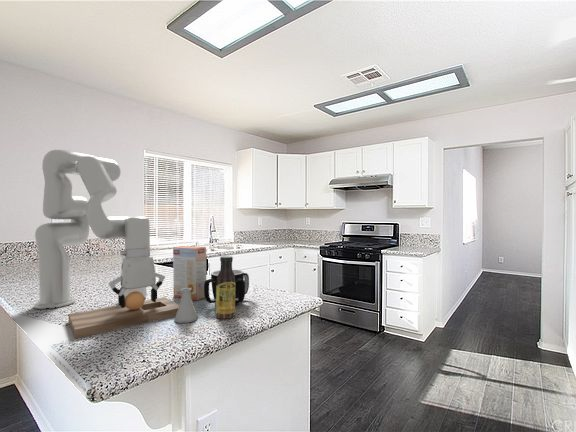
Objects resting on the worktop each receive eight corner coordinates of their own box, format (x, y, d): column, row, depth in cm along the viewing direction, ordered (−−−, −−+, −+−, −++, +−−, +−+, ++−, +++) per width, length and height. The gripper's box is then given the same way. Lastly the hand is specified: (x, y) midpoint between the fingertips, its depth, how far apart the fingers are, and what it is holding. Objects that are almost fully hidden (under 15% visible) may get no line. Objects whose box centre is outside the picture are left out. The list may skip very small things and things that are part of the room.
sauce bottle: (218, 321, 96) (217, 258, 96) (213, 315, 102) (212, 256, 102) (238, 317, 99) (237, 257, 99) (232, 312, 105) (231, 254, 105)
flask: (190, 324, 94) (190, 292, 94) (169, 323, 95) (169, 291, 95) (202, 316, 101) (201, 286, 101) (182, 315, 102) (181, 286, 102)
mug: (214, 297, 125) (214, 268, 125) (253, 298, 123) (252, 268, 123) (199, 309, 108) (198, 276, 108) (243, 310, 107) (242, 276, 107)
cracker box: (207, 297, 125) (206, 246, 125) (195, 301, 119) (195, 248, 119) (184, 293, 132) (184, 245, 132) (173, 296, 127) (172, 246, 127)
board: (68, 321, 98) (68, 314, 98) (164, 303, 117) (164, 296, 117) (75, 338, 84) (74, 329, 84) (182, 314, 103) (182, 307, 103)
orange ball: (145, 292, 106) (141, 310, 104) (126, 290, 103) (122, 308, 102) (147, 292, 101) (143, 311, 99) (127, 290, 98) (122, 310, 97)
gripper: (110, 256, 94) (111, 312, 94) (167, 252, 105) (168, 301, 105) (106, 254, 100) (107, 306, 100) (160, 250, 111) (161, 297, 111)
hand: (138, 304), depth 103 cm, fingers open, 9 cm apart
